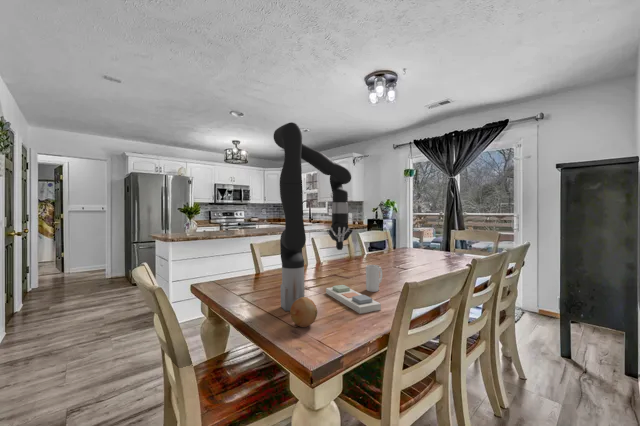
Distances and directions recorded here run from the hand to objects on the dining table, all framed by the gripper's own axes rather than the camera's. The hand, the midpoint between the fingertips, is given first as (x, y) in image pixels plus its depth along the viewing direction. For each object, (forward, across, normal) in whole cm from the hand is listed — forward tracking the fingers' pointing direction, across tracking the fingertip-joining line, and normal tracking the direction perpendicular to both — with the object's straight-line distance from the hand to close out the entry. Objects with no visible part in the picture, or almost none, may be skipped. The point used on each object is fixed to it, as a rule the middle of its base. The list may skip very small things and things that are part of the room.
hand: (339, 249), depth 137 cm
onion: (+22, -27, -24) cm, 43 cm away
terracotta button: (+21, +2, -8) cm, 23 cm away
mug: (+22, +22, +2) cm, 31 cm away
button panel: (+22, +2, -8) cm, 23 cm away
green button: (+20, +2, +1) cm, 20 cm away
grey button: (+20, +2, -17) cm, 26 cm away
